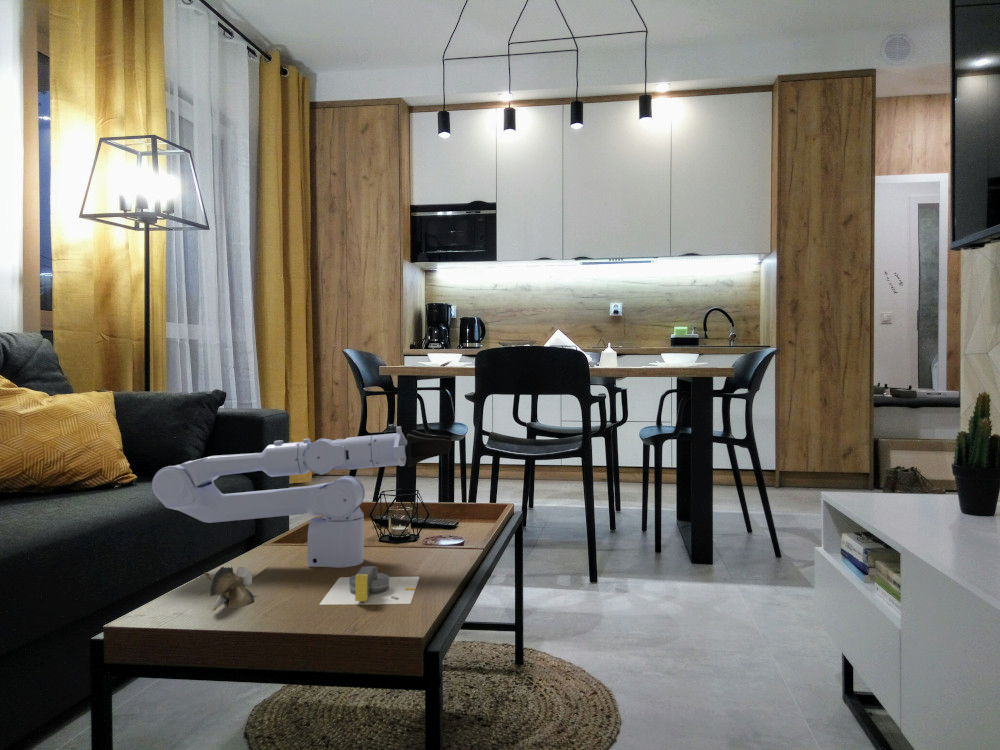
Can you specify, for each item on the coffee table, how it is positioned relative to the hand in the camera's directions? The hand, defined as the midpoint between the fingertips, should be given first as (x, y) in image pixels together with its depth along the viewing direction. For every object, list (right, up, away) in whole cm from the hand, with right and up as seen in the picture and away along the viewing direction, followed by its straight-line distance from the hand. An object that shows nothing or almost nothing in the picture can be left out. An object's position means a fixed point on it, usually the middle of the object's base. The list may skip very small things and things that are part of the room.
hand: (450, 444), depth 123 cm
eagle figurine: (-30, -22, -23) cm, 44 cm away
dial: (-11, -20, -20) cm, 30 cm away
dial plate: (-11, -21, -18) cm, 30 cm away
